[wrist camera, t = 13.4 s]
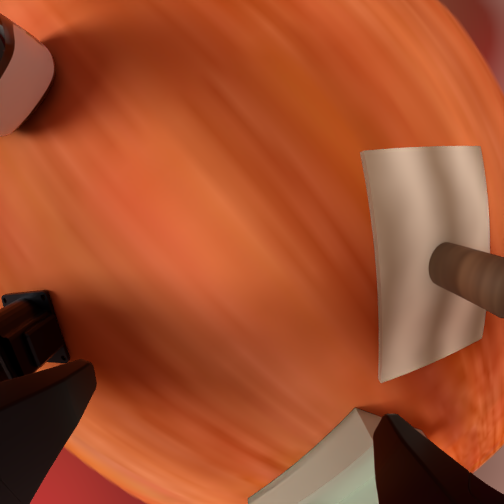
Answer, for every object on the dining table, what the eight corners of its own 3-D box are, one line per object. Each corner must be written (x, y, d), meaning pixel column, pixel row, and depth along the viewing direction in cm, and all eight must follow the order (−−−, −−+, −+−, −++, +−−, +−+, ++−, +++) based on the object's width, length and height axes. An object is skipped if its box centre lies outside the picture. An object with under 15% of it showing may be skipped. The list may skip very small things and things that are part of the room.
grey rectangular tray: (247, 498, 24) (249, 530, 19) (355, 407, 22) (374, 443, 17) (322, 510, 26) (329, 536, 21) (421, 429, 24) (440, 456, 19)
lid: (375, 375, 22) (421, 439, 14) (356, 153, 19) (429, 129, 10) (475, 333, 22) (528, 370, 14) (472, 147, 19) (543, 138, 10)
